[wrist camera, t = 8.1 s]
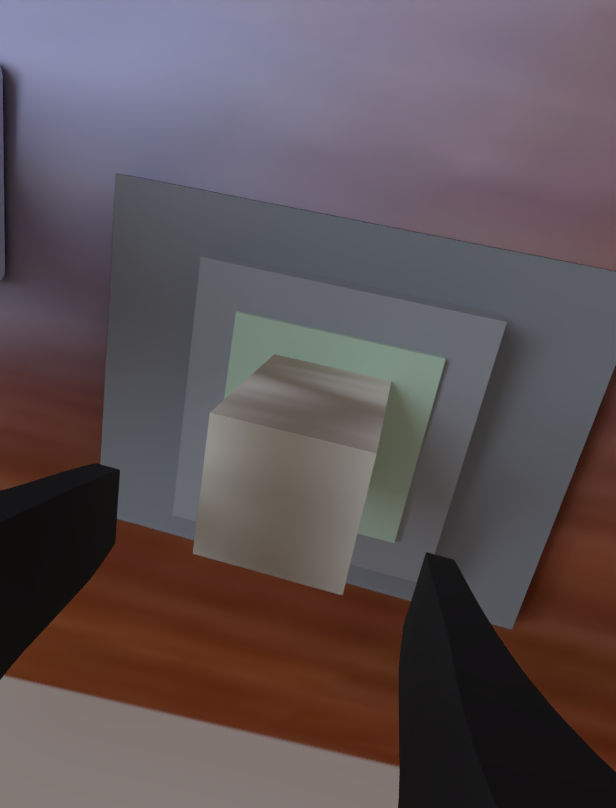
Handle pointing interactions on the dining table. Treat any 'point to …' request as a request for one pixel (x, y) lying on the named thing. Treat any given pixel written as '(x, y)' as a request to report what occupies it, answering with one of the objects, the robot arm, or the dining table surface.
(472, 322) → the stepped stand
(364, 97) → the dining table surface
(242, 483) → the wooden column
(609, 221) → the dining table surface
